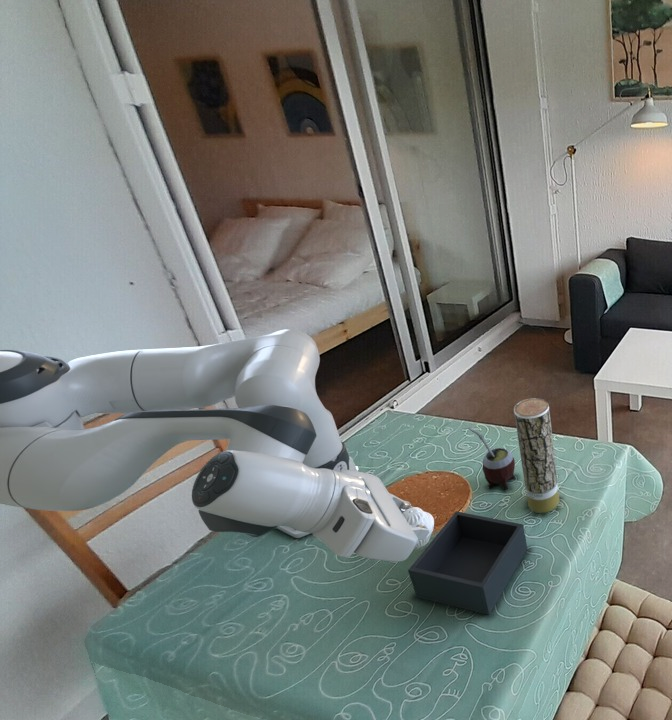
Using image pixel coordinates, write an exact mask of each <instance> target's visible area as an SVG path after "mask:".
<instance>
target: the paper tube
mask: <svg viewBox="0 0 672 720" xmlns="http://www.w3.org/2000/svg"><path fill="white" fill-rule="evenodd" d="M550 412H551V411H550V405H549V403H548V400H547V401H546V400H545V399H542V398H539V397H532V398H531V397H530V398H527V399H523V400H521V401H519V402H518V403H516V404H515V405H514V407H513V414H514V421H515V428H516V433H517V441H518V447H519V454H520V462H521V467H522V474H523V481H524V488H525V494H526V500H527V506H528V508H529V510H531V511H532V512H533V513H535V514H546V513H550V512H552V511H553V510H555V509H556V508H557V507H558V505H559V503H560V494H559V493H560V492H559V484H558V476H557V466H556V465H557V464H556V458H555V456H556V455H555V448H554V439H553V431H552V421H551V413H550Z"/></svg>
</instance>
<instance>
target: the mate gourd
mask: <svg viewBox="0 0 672 720" xmlns="http://www.w3.org/2000/svg"><path fill="white" fill-rule="evenodd" d="M467 430H469V431H471V432H472V433H474V434H475V435H477V436H478V438H479V439H480V441H482V444H483V445H484V446H485V448H486V450H487V451H488V452H486V454H485V455H484V456H483V459H482V472H483V475H484V478H485V481H486V482H487V484H488V485H487V486H488V489H492V488H495V487H497V486H501V487H502V489H503V490H504V491H507V490H509V487H508V485H507V482H509V481H512V480H514V479H516V476H515V475H514V473H515V467H516V462H515V458H514V455H513V454H512V453H511V451H510V450H509V449H506V448H504V447H497V448H493V449H491V448H490V446H489V445H488V443H487V441H486V439H485V437H484V435H483V434H481V433H480V432H479V431H477V430H475V429H473V428H471V427H470V426H468V427H467Z"/></svg>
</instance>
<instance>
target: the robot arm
mask: <svg viewBox="0 0 672 720" xmlns="http://www.w3.org/2000/svg"><path fill="white" fill-rule="evenodd" d="M320 362H321V357H320V352H319V348H318V345H317V343H316V341H315V340H314V339H313V338H312V336H310V335H309V334H307V333H306V332H303V331H301V330H298V329H292V328H286V329H285V328H284V329H280V330H277V331H274V332H271V333H267V334H264V335H259V336H253V337H248V338H242V339H237V340H236V339H235V340H231V341H225V342H220V343H214V344H209V345H202V346H201V345H199V346H189V347H188V346H187V347H170V348H169V347H168V348H166V347H165V348H150V349H149V348H147V349H131V350H130V349H129V350H121V351H113V352H111V351H110V352H104V353H98V354H93V355H87V356H83V357H82V356H81V357H77V358H74V359H72V360H69V361H68V362H66V361H64V360H63V359H61V358H58V357H55V356H49V355H41V354H39V353H37V352H36V353H35V352H31V351H30V352H29V351H24V350H16V349H0V505H5V506H10V507H16V508H22V509H31V510H38V511H39V510H40V511H50V512H51V511H52V512H79V511H85V510H90V509H93V508H97V507H99V506H101V505H103V504H106V503H109V502H110V501H112V500H114V499H115V498H117V497H119V496H121V495H122V494H124V493H125V492H127V491H128V490H129V489H131V488H132V486H134V485H135V484H136V483H137V482H138V481H139V479H141V477H142V476H143V475H144V474H145V473H146V472H147V471H148V470H149V469H150V468H151V467H152V466H153V465H154V464H155V463H156V462H157V461H158V460H160V458H162V457H163V456H164V455H165V454H166V453H168V452H169V451H170V450H172V449H173V448H175V447H177V446H178V445H180V444H183V443H186V442H191V441H220V440H221V441H222V440H229V441H228V443H227V445H226V448H225V450H223V451H220V452H219V453H217V454H215V455H214V456H212V457H211V458H210V459H209V460H208V461H207V462H206V463H205V464H204V465H203V466H202V468H201V469H200V470H199V472H198V474H197V475H196V477H195V480H194V482H193V486H192V489H191V501H192V505H193V506H194V507H195V508H196V509H198V513H199V516H200V518H201V520H202V522H203V524H204V525H205V527H206V528H207V529H208V530H209V531H211V532H215V533H238V534H243V535H247V536H250V537H251V538H252V537H253V538H259V537H261V536H263V535H266V534H267V533H269V532H272V531H273V530H275V529H277V530H280V531H281V532H282V533H285V534H287V535H289V536H291V537H292V538H295V539H300V538H303V537H306V536H308V535H311V534H312V536H313V537H314V538H316V539H318V540H319V541H321V542H322V543H323V544H324V545H326V547H328V549H329V550H330V551H331V552H332V553H333V554H334V555H335V556H337V557H340V558H350V557H352V555H353V554H355V555H357V556H359V557H361V558H364V559H368V560H373V561H374V560H375V561H382V562H393V563H400V562H403V561H405V560H407V559H408V558H409V557H410V556H411V554H412V552H413V551H414V548H415V546H416V544H417V543H418V540H424V539H426V537H427V535H428V534H429V530H428V529H427V527H426V526H425V525H420V524H418V525H417V526H416V527H412V526H411V525H409V524H408V522H407V520H406V519H405V517H404V516H403V512H404V511H406V509H409V508H412V507H413V505H412V504H411V502H410V501H408V500H405V499H401V498H399V497H398V496H397V495H394V494H393V493H390V492H389V490H388V489H387V487H386V486H385V484H384V483H383V481H382V480H381V478H380V477H378V476H377V475H375V474H372V473H368V472H363V471H359V467H358V466H357V465H356V464H355V462H354V460H353V458H352V457H351V456H350V455H349V453H348V452H349V451H348V448H347V446H346V444H345V442H343V441H342V440H341V436H340V434H339V431H338V428H337V425H336V422H335V419H334V416H333V414H332V412H331V411H330V410H328V409H327V408H326V407H325V406H324V404H323V403H322V401H321V399H320V397H319V396H318V394H317V389H316V375H317V372H318V370H319V366H320ZM233 398H234V401H235V404H236V407H233V408H208V407H212V406H214V405H217V404H219V403H221V402H224V401H226V400H228V399H233ZM95 414H106V415H107V414H108V415H121V416H119V417H117V418H114V420H113V421H109V422H107V423H104V424H101V425H97V426H94V427H89V428H85V425H84V423H83V420H82V418H84V417H88V416H90V415H95Z"/></svg>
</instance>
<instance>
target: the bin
mask: <svg viewBox="0 0 672 720" xmlns="http://www.w3.org/2000/svg"><path fill="white" fill-rule="evenodd" d="M527 552H528V544H527V538H526V532H525V526H524V524H523V523H518V522H513V521H507V520H502V519H498V518H492V517H487V516H483V515H478V514H472V513H467V512H464V511H463V512H462V511H457V510H456V511H455V512H454V513H453V514H452V516H451V517H450V518H449V519H448V521H446V523H445V524H444V525H443V527H442V528H441V529H440V530H439V532H438V533H437V534H436V535H435V536H434V537H433V538H432V540H431V541H429V543H428V545H427V546H426V547H425V549H424V550H422V552H421V553H420V555H419V556H418V557H417V558H416V560H415V561H414V562H413V563H412V564H411V565H410V567H409V568H408V569H407V573H408V575H409V579H410V582H411V585H412V589H413V591H414V595H415V597H416V598H419V599H423V600H427V601H430V602H435V603H439V604H442V605H448V606H451V607H455V608H460V609H463V610H468V611H471V612H475V613H479V614H482V615H483V614H484V615H488V616H489V615H491V613H492V611H493V610H494V608H495V606H496V605H497V603H498V601H499V600H500V598H501V596H502V595H503V592H504V591H505V589H506V587H507V586H508V584H509V582H510V581H511V579H512V578H513V576H514V574H515V572H516V571H517V569H518V567H519V566H520V564H521V562H522V560H523V558H524V557H525V555H526V553H527Z"/></svg>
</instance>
